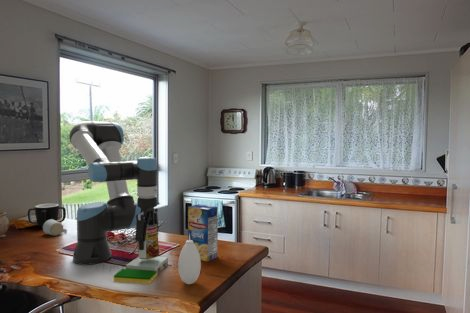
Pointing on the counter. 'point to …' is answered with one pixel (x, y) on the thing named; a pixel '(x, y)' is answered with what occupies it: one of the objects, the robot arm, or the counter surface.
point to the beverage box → (204, 230)
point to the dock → (148, 264)
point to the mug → (46, 213)
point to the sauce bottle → (189, 262)
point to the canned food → (151, 242)
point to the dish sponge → (135, 276)
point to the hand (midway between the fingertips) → (147, 254)
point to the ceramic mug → (53, 227)
